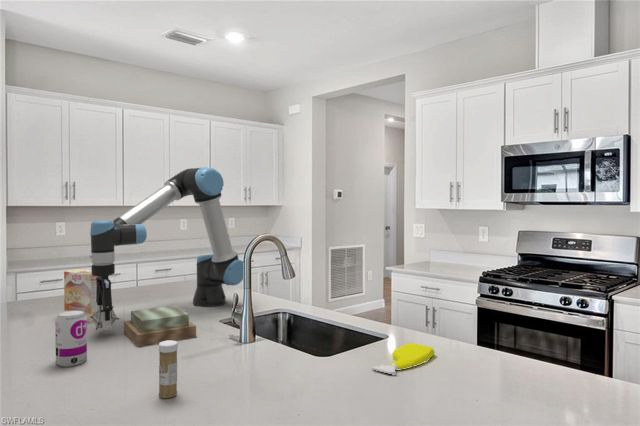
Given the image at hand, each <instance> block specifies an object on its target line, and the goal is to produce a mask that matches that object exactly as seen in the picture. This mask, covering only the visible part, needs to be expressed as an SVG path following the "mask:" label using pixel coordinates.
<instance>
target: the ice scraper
mask: <svg viewBox="0 0 640 426" xmlns="http://www.w3.org/2000/svg"><path fill="white" fill-rule="evenodd" d="M433 355H434V356H435V350H434V348H433V346H432V347H431V346H427V345H423V344H419V343H414V342H409V343H406V344H403V345H401V346H399V347H398V348H396V349H394V351H393V352H392V359H393V360H394V359H395V360H397V361H395V360H394V362H390V363H389V365H388V364H387V365H384V364H383V363H381V365H377V366H374V365H373V366H371V370H372V369H373V370H372V371H374V370H376V371H375V372H377V371H380V372H384V373H388V374H396V375H397V371H395V370H397V369H403V368H407V367H410V366H414V365H417V364H420V363H422V362H424V361H427V360H428V359H430V358H431V357H432V356H433ZM434 356H433V357H434ZM433 357H432V358H433ZM432 358H431V359H432ZM431 359H430V360H431ZM380 372H379V373H380ZM384 373H383V374H384ZM388 374H387V375H388Z"/></svg>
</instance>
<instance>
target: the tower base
mask: <svg viewBox="0 0 640 426" xmlns="http://www.w3.org/2000/svg"><path fill="white" fill-rule="evenodd" d="M189 318H190V314H189V313H187V312H185V311H184V310H183V309H180V308H179V307H177V306H176V305H167V306H162V307H161V306H160V307H152V308H146V309H138V310H131V312H130V320H125V321H123V333H124V334H125V335H126V336H127V337H128V339H130V340H131V342H133V344H134V345H136V346H137V348H140V347H145V346H152V344H153V345H159V343H160V342H163V341H167V340H173V341H176V342H177V341H180V340H181V341H182V340H187V339H194V338H197V325H195V324H194V323H192V322H191V321H190V319H189Z"/></svg>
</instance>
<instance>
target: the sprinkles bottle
mask: <svg viewBox="0 0 640 426" xmlns="http://www.w3.org/2000/svg"><path fill="white" fill-rule="evenodd" d="M178 349H179V346H178V341H177V340H176V341H173V340H167V341H163V342H160V343H158V352H159V365H158V368H159V369H158V387H159V388H158V390H159V391H158V397H160V398H161V399H170V398H174V397H175V396H177V394H178V390H177V389H178V383H177V382H178Z"/></svg>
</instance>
